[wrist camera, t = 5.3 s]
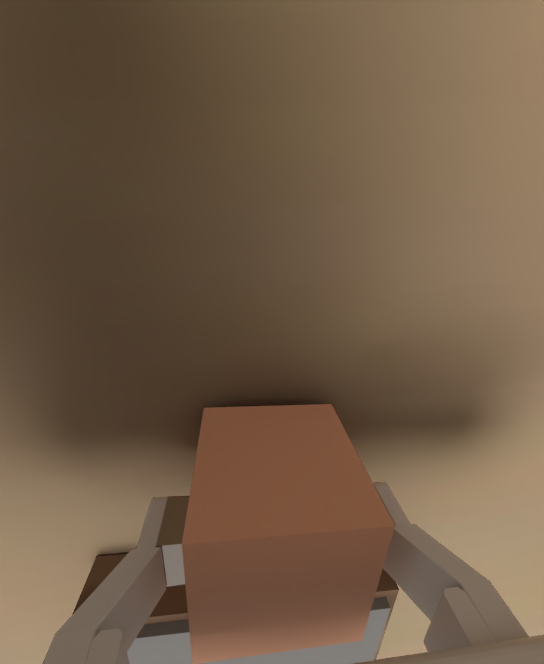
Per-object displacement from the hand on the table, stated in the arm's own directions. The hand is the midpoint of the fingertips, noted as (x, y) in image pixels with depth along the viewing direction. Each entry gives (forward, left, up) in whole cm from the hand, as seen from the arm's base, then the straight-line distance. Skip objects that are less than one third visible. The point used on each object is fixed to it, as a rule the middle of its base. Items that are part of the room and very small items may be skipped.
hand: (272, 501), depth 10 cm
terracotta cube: (0, 0, -2) cm, 2 cm away
